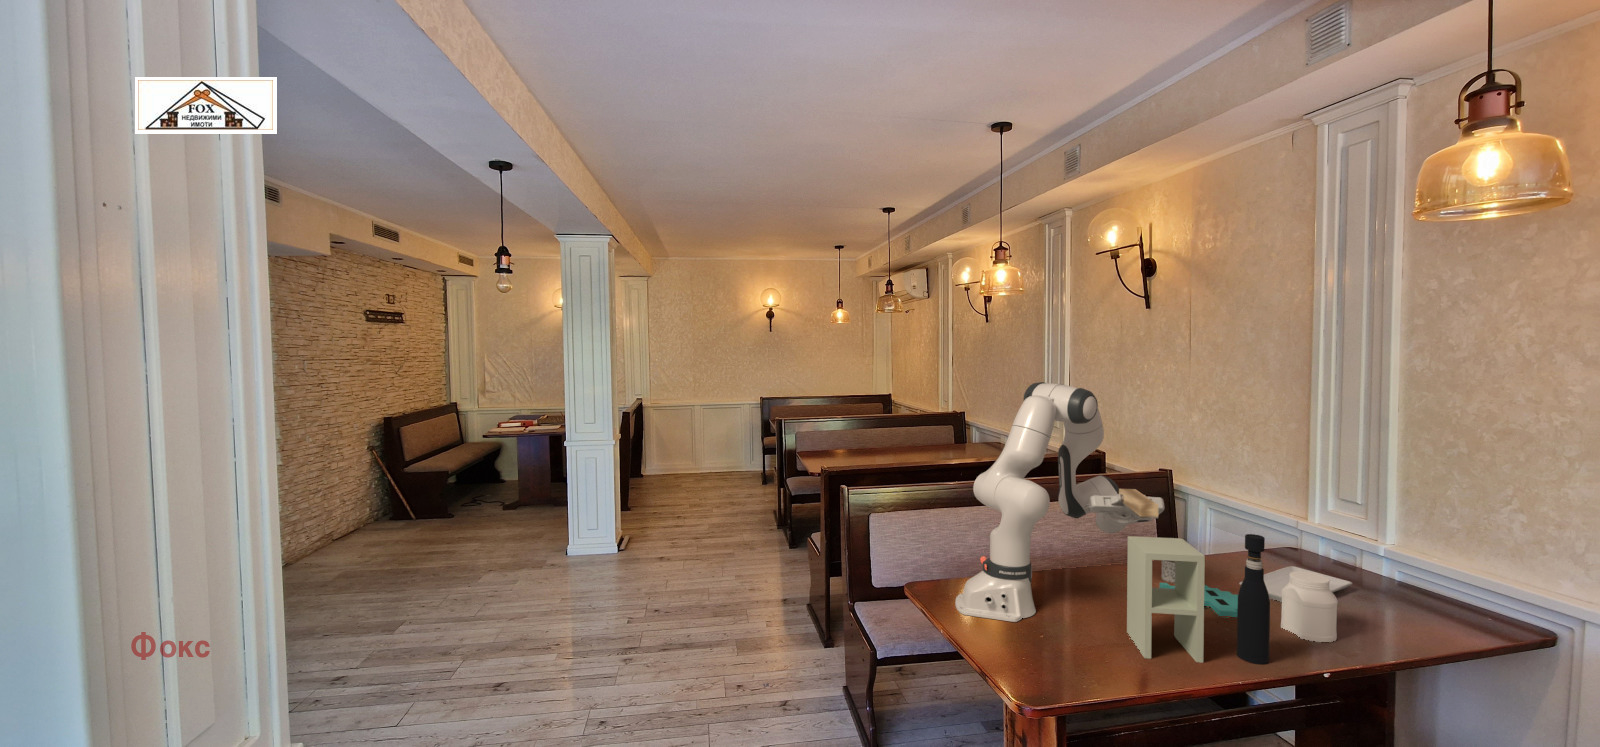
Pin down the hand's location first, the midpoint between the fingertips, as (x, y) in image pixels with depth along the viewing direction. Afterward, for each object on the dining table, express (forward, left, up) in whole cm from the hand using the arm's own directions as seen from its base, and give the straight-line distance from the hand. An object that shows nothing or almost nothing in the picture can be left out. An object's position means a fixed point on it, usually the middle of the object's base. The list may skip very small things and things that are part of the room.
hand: (1132, 497), depth 185 cm
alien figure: (+23, +6, -33) cm, 41 cm away
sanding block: (0, -5, -2) cm, 5 cm away
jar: (+40, -11, -32) cm, 53 cm away
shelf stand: (0, -26, -32) cm, 41 cm away
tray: (+52, +20, -33) cm, 65 cm away
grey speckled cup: (+20, +26, -32) cm, 46 cm away
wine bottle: (+19, -28, -32) cm, 47 cm away
